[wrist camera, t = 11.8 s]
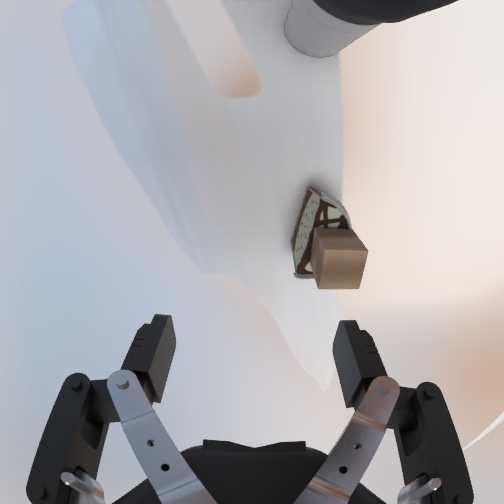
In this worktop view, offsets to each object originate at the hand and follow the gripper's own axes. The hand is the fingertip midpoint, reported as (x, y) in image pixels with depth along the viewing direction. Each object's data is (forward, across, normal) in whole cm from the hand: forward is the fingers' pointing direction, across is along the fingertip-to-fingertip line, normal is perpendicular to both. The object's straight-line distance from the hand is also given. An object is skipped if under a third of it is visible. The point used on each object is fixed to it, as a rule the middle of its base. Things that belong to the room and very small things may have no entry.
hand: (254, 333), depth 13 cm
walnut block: (+22, -10, +6) cm, 25 cm away
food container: (+32, -10, +6) cm, 34 cm away
